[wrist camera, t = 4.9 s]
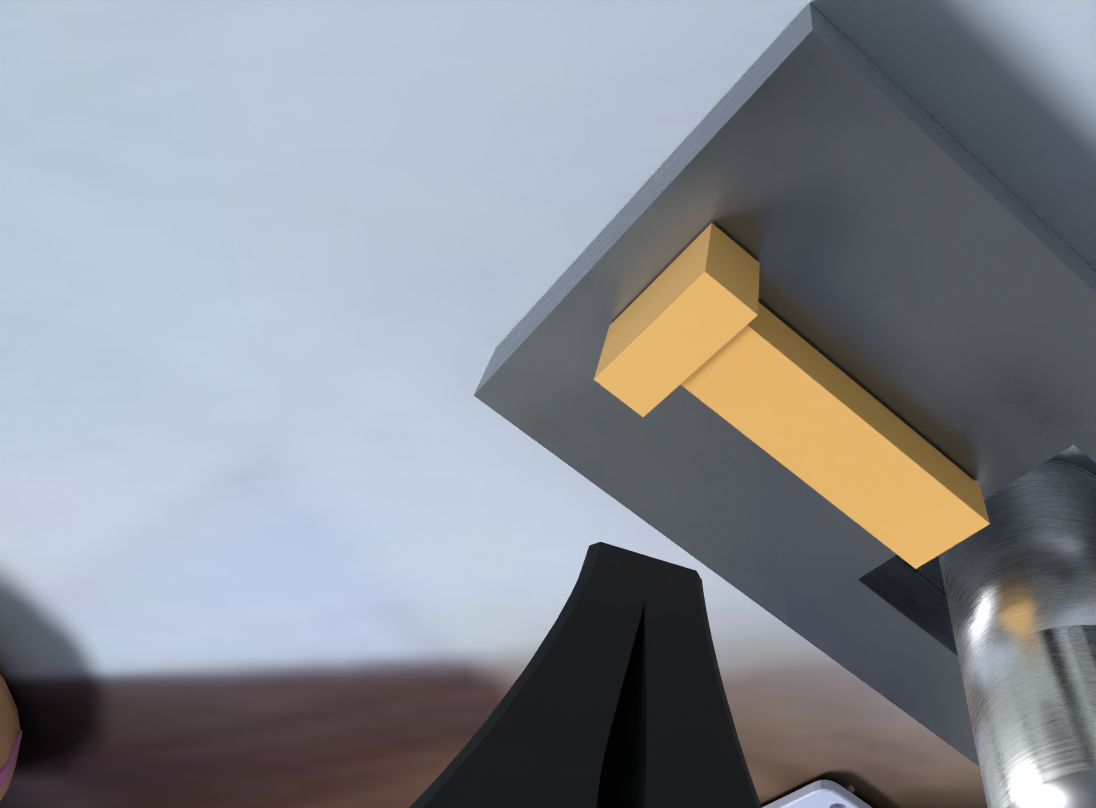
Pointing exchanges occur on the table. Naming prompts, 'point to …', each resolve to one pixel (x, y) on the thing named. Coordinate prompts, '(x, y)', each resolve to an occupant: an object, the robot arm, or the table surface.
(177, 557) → the table surface
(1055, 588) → the brushed steel cylinder
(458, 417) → the table surface
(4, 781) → the donut
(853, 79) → the dark grey socket tray
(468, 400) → the table surface
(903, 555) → the bar
